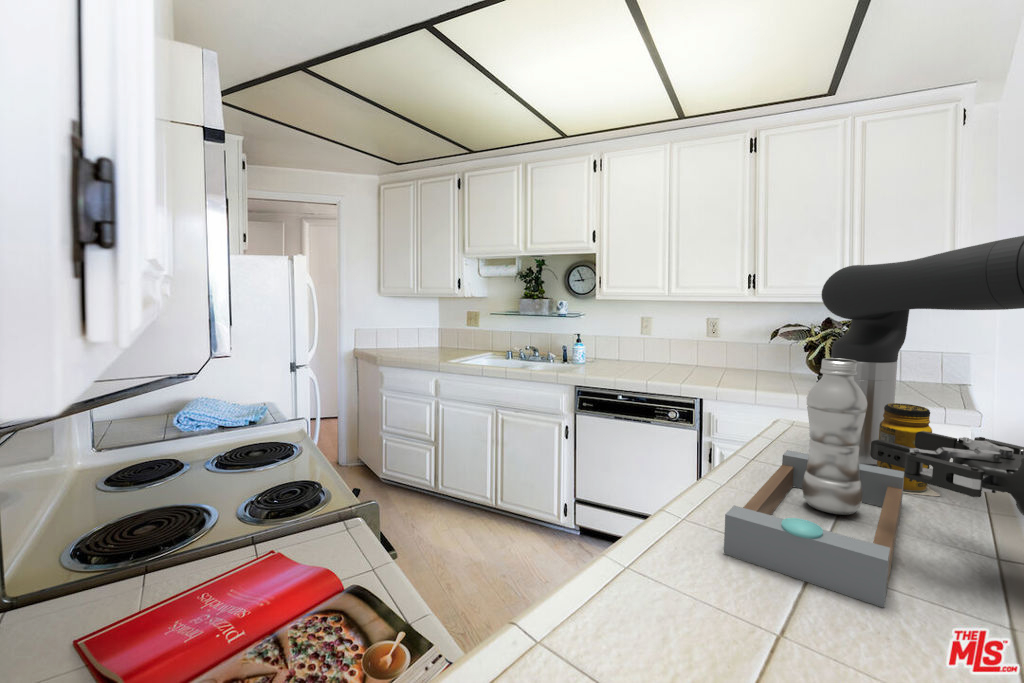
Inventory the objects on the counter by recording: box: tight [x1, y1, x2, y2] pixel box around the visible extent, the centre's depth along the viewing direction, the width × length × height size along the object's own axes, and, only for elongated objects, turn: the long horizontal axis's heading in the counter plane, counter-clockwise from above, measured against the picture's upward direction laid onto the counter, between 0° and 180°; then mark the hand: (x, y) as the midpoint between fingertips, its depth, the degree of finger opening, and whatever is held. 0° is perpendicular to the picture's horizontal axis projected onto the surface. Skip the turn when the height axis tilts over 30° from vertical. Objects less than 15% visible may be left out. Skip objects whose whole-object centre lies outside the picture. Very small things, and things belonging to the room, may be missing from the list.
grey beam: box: [781, 449, 904, 508], centre depth 68 cm, size 14×4×5 cm, turn 48°
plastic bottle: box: [802, 357, 867, 516], centre depth 62 cm, size 6×7×20 cm
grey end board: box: [723, 505, 890, 609], centre depth 49 cm, size 14×4×5 cm, turn 48°
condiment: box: [876, 402, 941, 497], centre depth 71 cm, size 7×8×12 cm
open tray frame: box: [742, 464, 903, 589], centre depth 59 cm, size 14×23×3 cm, turn 138°
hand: (895, 443), depth 56 cm, fingers open, 8 cm apart
